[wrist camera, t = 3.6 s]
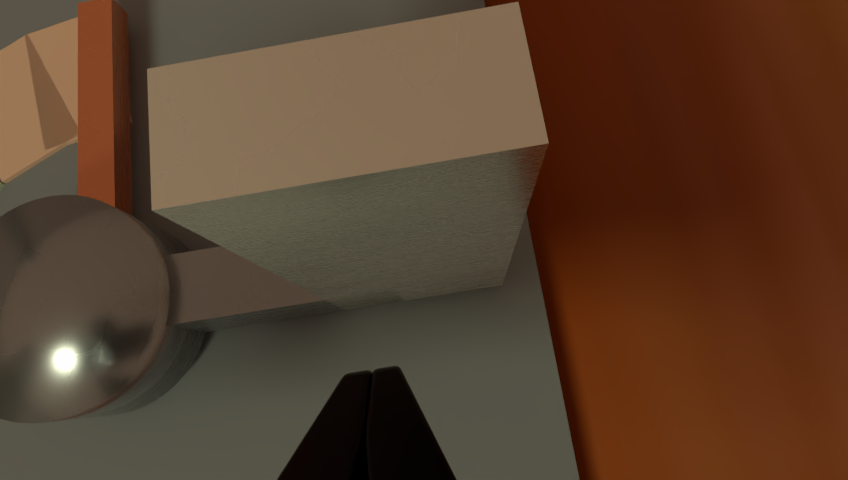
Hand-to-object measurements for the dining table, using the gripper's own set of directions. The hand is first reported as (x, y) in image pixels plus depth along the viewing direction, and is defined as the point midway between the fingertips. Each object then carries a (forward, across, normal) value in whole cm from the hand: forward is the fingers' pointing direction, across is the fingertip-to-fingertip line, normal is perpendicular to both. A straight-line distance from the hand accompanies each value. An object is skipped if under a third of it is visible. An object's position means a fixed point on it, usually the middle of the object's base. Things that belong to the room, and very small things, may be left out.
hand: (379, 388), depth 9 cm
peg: (+8, +4, 0) cm, 9 cm away
